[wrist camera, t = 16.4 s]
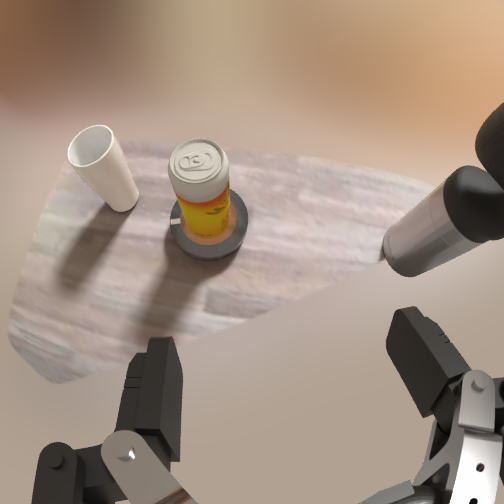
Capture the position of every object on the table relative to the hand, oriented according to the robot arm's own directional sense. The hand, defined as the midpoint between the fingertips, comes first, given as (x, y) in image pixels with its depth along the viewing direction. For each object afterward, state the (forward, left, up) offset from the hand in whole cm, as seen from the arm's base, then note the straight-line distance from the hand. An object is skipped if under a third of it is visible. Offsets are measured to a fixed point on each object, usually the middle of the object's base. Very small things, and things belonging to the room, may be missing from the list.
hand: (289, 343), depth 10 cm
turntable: (+4, -18, -32) cm, 37 cm away
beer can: (+4, -17, -29) cm, 34 cm away
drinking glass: (+18, -24, -32) cm, 44 cm away
